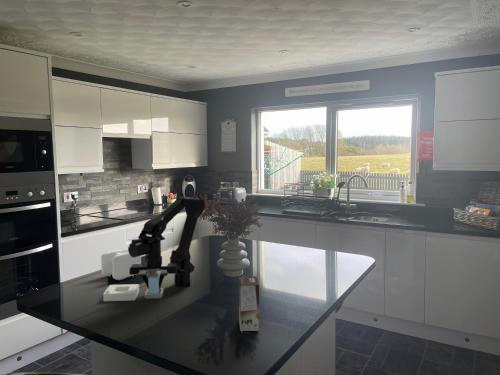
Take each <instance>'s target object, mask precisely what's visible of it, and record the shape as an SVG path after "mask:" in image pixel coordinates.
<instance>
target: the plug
mask: <svg viewBox="0 0 500 375" xmlns="http://www.w3.org/2000/svg"><path fill="white" fill-rule="evenodd" d="M159 280H160V274H159V272H151V273H150V274H149V278H148V283H149V294H160V289H159Z"/></svg>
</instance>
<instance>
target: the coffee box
mask: <svg viewBox="0 0 500 375" xmlns="http://www.w3.org/2000/svg"><path fill="white" fill-rule="evenodd" d="M238 279H239V280H238V281H239V282H238V283H239V284H238V286H239V290H238V291H239V292H238V302H239V304H238V305H239V306H238V308H239V310H238V311H239V312H238V320H239V321H238V323H239V332H240V331H241V332H240V333H243V332H242V331H258V330H260V329H259V328H260V326H259V325H260V322H259V321H260V283H259V279H258V277H257V276H253V275H251V276H239V277H238ZM258 332H259V331H258Z"/></svg>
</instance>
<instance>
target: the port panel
mask: <svg viewBox="0 0 500 375" xmlns="http://www.w3.org/2000/svg"><path fill="white" fill-rule="evenodd" d="M139 293H140V284H137V283H135V284H134V283H133V284H109V285H108V287H107V288H106V290H105V291H104V292H103V294H102V295H103V302H116V301H117V302H121V301H122V302H123V301H125V302H127V301H136V298H137V297H138V294H139Z"/></svg>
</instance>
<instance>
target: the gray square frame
mask: <svg viewBox="0 0 500 375" xmlns="http://www.w3.org/2000/svg"><path fill="white" fill-rule="evenodd" d="M164 293H165V288H162V287H161V288H160V294H149V290H148V288H146V290H145V293H144V299H162V298H163V296H164Z"/></svg>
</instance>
